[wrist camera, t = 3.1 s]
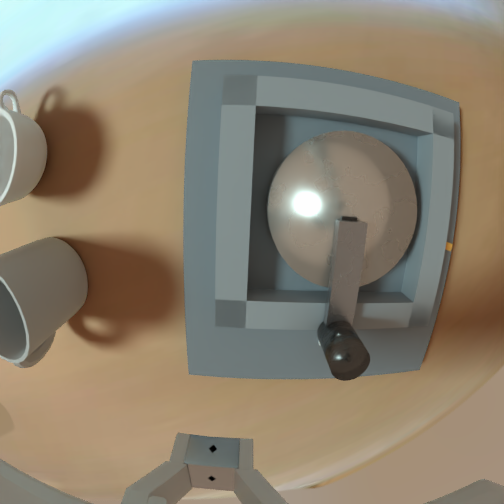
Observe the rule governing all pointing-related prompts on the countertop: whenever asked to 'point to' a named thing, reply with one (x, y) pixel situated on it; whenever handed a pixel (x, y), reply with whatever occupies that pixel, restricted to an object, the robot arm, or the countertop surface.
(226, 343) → the panel
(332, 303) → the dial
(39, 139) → the teacup
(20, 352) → the cup
